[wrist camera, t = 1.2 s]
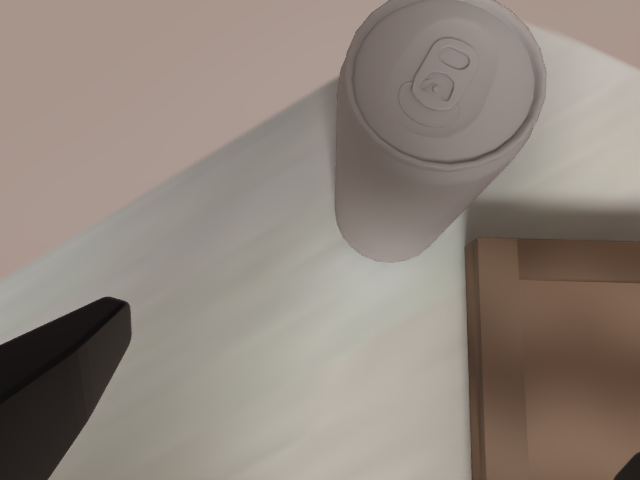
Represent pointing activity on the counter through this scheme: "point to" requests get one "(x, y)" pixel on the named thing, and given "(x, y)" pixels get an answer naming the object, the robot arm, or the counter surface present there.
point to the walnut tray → (553, 357)
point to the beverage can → (429, 118)
